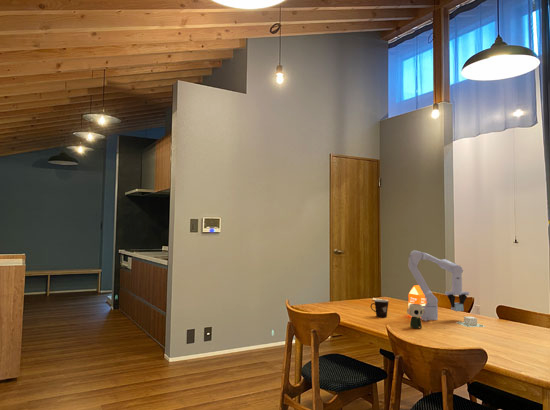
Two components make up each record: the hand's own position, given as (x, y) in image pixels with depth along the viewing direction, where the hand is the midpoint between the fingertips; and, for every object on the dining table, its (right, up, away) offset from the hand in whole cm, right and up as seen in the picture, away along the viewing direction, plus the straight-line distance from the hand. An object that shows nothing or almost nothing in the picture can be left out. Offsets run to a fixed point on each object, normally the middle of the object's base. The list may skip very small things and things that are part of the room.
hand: (457, 307), depth 252 cm
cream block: (+2, -7, -12) cm, 14 cm away
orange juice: (-19, -10, +14) cm, 26 cm away
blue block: (0, -2, 0) cm, 2 cm away
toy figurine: (-32, -7, -20) cm, 38 cm away
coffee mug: (-45, -9, +11) cm, 47 cm away
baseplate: (+2, -8, -12) cm, 15 cm away
